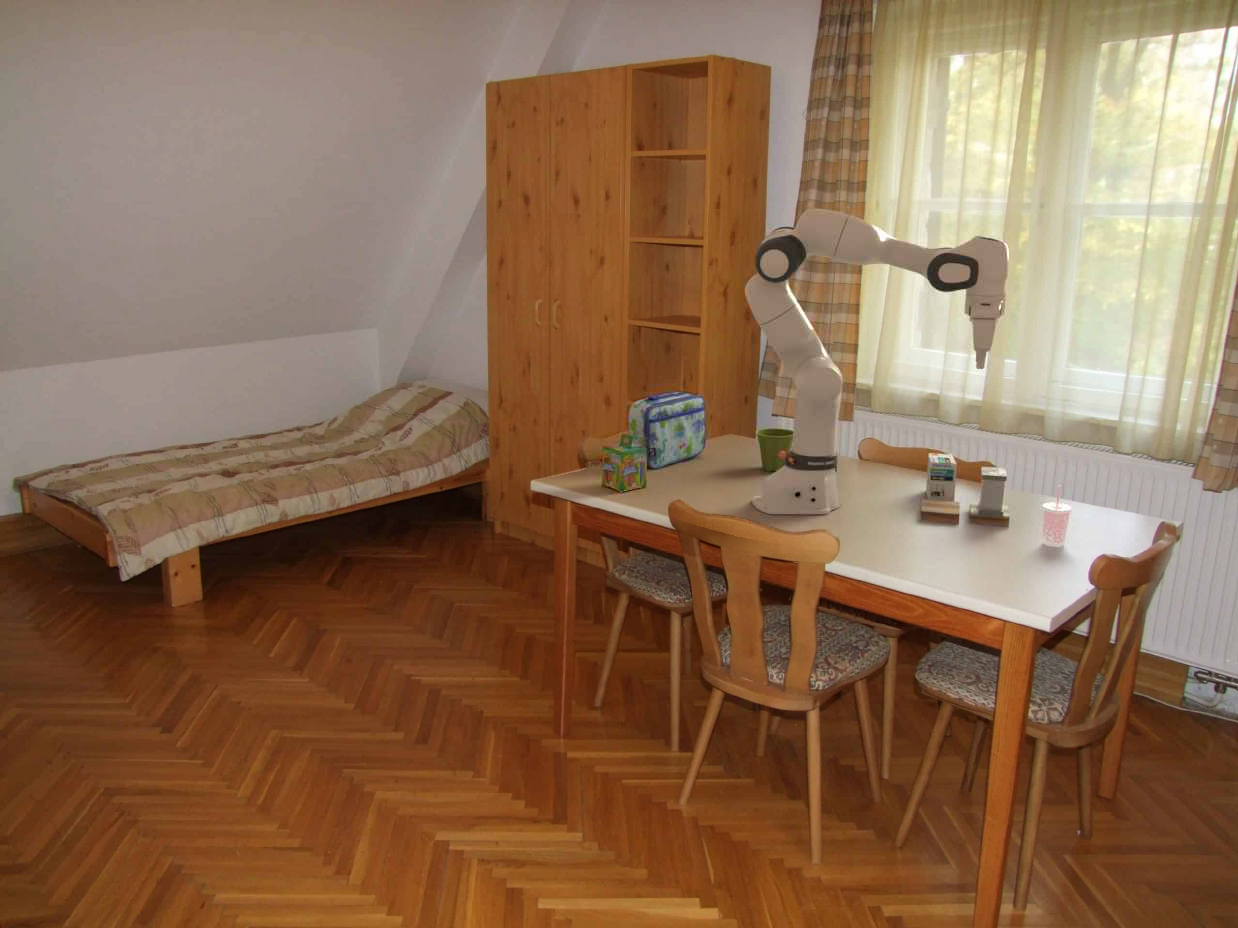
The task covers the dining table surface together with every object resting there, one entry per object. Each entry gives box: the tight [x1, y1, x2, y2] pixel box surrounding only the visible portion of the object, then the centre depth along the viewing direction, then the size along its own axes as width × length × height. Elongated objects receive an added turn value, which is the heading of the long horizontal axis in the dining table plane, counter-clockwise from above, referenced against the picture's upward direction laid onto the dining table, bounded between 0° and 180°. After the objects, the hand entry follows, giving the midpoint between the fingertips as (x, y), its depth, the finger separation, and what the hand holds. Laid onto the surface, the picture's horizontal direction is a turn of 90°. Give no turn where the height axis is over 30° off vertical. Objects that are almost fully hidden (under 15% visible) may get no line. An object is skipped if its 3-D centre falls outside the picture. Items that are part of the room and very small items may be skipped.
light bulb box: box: [925, 452, 958, 502], centre depth 277 cm, size 11×7×11 cm, turn 168°
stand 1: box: [920, 498, 961, 525], centre depth 261 cm, size 11×9×2 cm
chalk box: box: [601, 433, 648, 491], centre depth 287 cm, size 9×9×15 cm
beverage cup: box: [1042, 484, 1073, 548], centre depth 239 cm, size 6×6×14 cm
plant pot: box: [755, 427, 793, 472], centre depth 305 cm, size 12×12×11 cm
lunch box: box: [628, 391, 707, 470], centre depth 313 cm, size 26×11×21 cm, turn 133°
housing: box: [977, 466, 1008, 517], centre depth 255 cm, size 8×6×10 cm
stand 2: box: [969, 500, 1010, 527], centre depth 259 cm, size 11×9×2 cm
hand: (979, 365), depth 246 cm, fingers open, 8 cm apart
